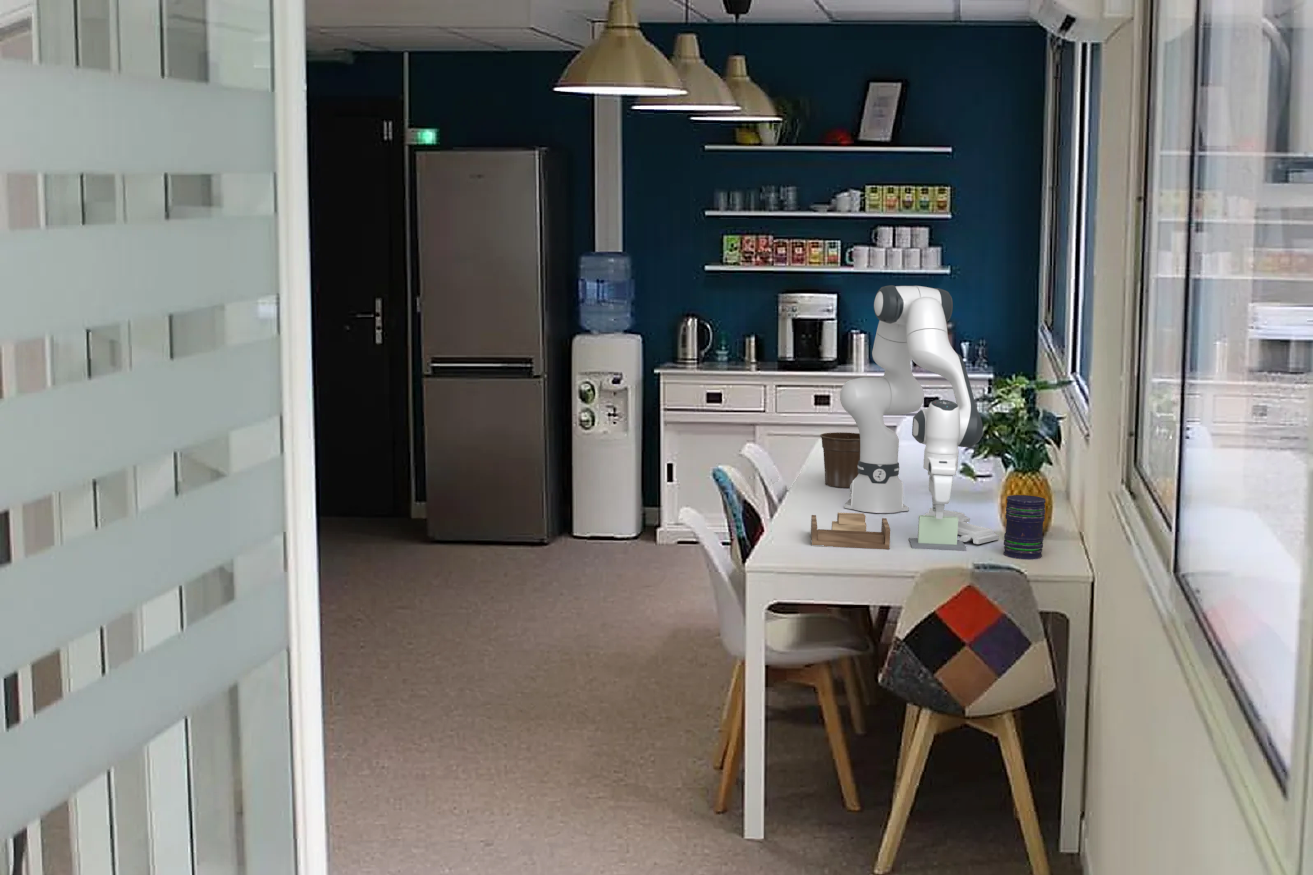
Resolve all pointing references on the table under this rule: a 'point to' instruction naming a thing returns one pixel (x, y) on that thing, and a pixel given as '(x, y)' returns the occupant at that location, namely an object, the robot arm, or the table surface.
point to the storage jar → (1024, 527)
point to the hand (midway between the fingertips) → (937, 514)
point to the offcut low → (848, 527)
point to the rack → (851, 537)
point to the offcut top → (851, 518)
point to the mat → (937, 545)
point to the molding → (969, 528)
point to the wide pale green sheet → (937, 530)
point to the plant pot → (841, 458)
